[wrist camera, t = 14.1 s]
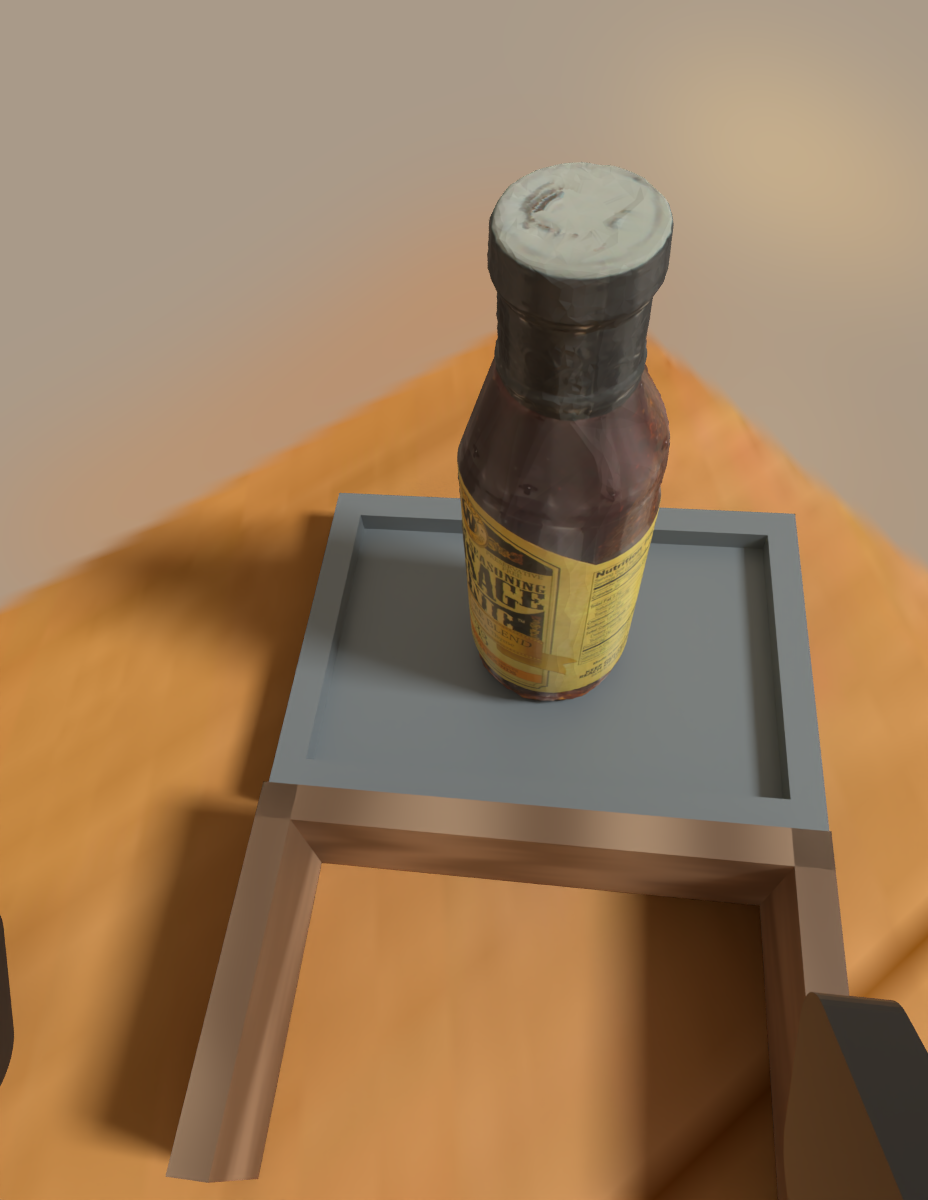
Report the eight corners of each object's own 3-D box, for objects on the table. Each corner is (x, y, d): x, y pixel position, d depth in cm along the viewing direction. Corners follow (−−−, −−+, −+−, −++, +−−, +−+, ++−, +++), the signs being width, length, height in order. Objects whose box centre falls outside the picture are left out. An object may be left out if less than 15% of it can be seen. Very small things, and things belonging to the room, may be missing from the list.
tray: (282, 806, 34) (267, 786, 32) (348, 522, 42) (339, 492, 40) (812, 855, 32) (829, 836, 30) (782, 544, 39) (794, 514, 37)
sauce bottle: (450, 612, 37) (382, 164, 20) (582, 560, 38) (622, 92, 21) (515, 743, 34) (497, 336, 17) (658, 682, 35) (776, 240, 18)
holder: (221, 1173, 28) (165, 1176, 24) (297, 828, 34) (263, 781, 29) (823, 1260, 26) (880, 1281, 21) (791, 874, 31) (831, 831, 27)
